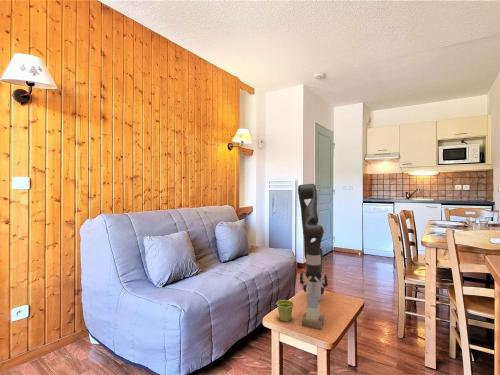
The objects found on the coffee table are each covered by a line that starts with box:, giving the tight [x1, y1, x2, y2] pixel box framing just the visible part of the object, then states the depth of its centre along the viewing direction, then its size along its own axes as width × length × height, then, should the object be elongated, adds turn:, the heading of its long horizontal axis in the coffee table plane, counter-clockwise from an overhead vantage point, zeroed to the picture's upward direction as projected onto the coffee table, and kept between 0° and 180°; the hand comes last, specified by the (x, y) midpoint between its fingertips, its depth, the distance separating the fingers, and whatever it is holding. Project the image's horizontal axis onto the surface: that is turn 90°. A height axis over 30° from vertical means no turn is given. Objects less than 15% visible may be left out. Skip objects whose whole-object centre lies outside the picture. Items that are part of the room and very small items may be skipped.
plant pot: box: [276, 299, 295, 323], centre depth 154 cm, size 9×9×9 cm
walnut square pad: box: [301, 312, 325, 331], centre depth 149 cm, size 10×10×3 cm
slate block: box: [306, 294, 319, 309], centre depth 149 cm, size 5×5×5 cm
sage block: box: [305, 304, 321, 321], centre depth 149 cm, size 6×6×6 cm
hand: (313, 292), depth 149 cm, fingers open, 8 cm apart
